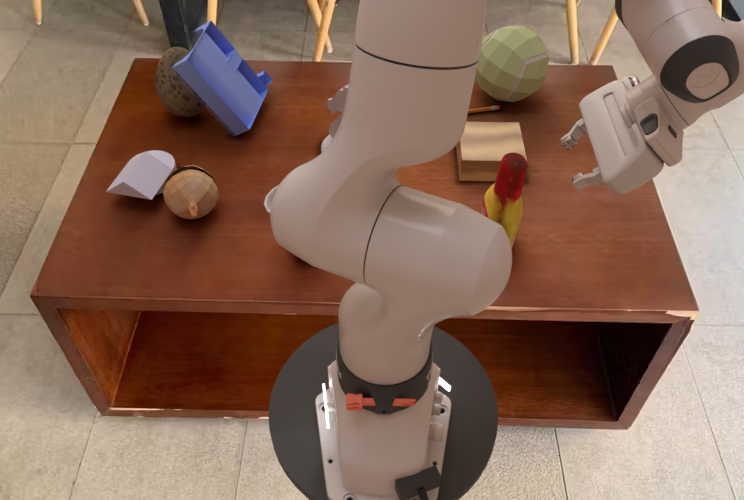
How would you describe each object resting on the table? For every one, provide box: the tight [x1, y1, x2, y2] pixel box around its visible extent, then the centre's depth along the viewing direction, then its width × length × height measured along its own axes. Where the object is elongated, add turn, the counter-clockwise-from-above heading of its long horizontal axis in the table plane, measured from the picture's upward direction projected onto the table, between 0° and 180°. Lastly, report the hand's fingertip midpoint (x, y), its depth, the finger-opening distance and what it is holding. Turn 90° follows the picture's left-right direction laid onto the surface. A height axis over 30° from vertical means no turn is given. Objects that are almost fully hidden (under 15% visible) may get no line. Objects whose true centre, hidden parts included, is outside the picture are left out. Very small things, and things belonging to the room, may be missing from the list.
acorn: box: [161, 164, 220, 220], centre depth 118 cm, size 9×9×15 cm
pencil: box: [468, 104, 501, 114], centre depth 142 cm, size 1×1×19 cm
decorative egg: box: [154, 46, 208, 118], centre depth 137 cm, size 11×11×15 cm
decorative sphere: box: [475, 24, 550, 103], centre depth 141 cm, size 15×15×15 cm
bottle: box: [481, 152, 529, 250], centre depth 109 cm, size 12×6×20 cm, turn 171°
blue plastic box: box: [171, 20, 273, 137], centre depth 136 cm, size 18×16×7 cm
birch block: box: [455, 121, 528, 182], centre depth 130 cm, size 12×12×5 cm
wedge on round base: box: [105, 149, 178, 201], centre depth 124 cm, size 9×7×13 cm
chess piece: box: [320, 83, 349, 154], centre depth 129 cm, size 10×10×15 cm
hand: (568, 164), depth 102 cm, fingers open, 8 cm apart
